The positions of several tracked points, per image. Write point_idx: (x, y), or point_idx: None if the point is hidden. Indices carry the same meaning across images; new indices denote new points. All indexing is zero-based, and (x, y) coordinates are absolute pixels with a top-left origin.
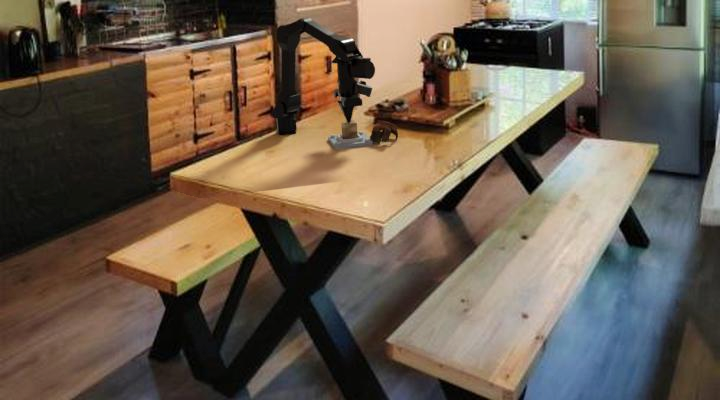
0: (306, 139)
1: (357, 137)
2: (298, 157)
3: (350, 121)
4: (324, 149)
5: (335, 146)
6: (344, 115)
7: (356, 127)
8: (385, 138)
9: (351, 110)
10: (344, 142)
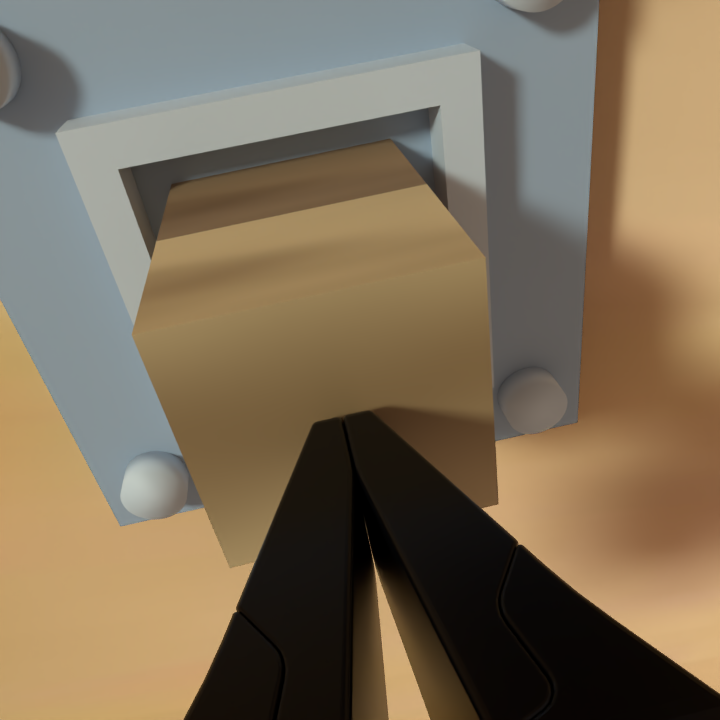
0: (81, 664)
1: (401, 153)
2: (652, 624)
3: (371, 415)
4: (510, 490)
5: (574, 416)
6: (380, 647)
7: (452, 228)
8: None
9: (595, 655)
10: None
